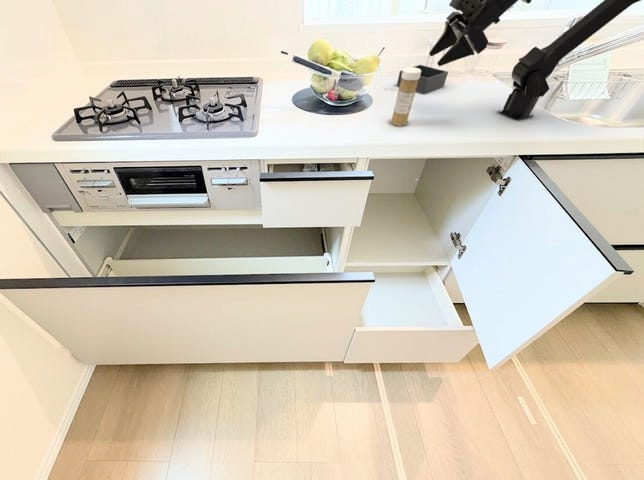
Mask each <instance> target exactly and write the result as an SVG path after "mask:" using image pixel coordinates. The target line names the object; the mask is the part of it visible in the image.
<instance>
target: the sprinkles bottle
mask: <svg viewBox="0 0 644 480" xmlns="http://www.w3.org/2000/svg"><path fill="white" fill-rule="evenodd" d="M402 70H403V72H402V76H401V77H402V78H401V83H400V87H399V86H398V90H397V96H396V99H395V103H394V107H393V113H392V115H391V116H392V117H391V119H390V123H391V125H394V126H401V127H402V126H406V125H407V124H408V119H409V115H410V113H411V109H412V106H413V103H414V98H415V94H416V87H417V83H418V80H419V78H420V75H421V70H420V69H419V68H414V66H408V67H404V68H403V69H402Z"/></svg>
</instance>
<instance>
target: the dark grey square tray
mask: <svg viewBox="0 0 644 480" xmlns="http://www.w3.org/2000/svg"><path fill="white" fill-rule="evenodd" d="M413 67H414V68H419V69H420V70H421V75H420V78H419V80H418V83H417V87H416V91H415V93H419V94H422V95H425V94H427V93H430V92H433V91H436V90H439V89H441V88H443V87H444V86H445V83H446V81H447V78H448V75H449V71H446V70H444V69H440V68H436V67H435V68H434V67H431V66H428V65H424V64H418V65H415V66H413ZM402 72H403V69H401V70H400V71H399V74H398V78H397V83H396V86H397V87H398V88H399V87H400V83H401V78H402V77H401V76H402Z"/></svg>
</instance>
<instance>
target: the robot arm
mask: <svg viewBox="0 0 644 480" xmlns="http://www.w3.org/2000/svg"><path fill="white" fill-rule="evenodd" d="M641 1H642V0H603V1H602V2H600V3H599V4H598V5H597V6H595V7H594V8H593V9H592V10H590V11H589V12H588V13H587V14H585V15H584V16H583V17H582V18H580V19H579V20H578V21H577V22H576V23H574V24H573V25H572V26H571V27H570V28H568V29H567V30H566V31H565V32H564V33H562V34H561V35H559V37H557V38H556V39H555V40H554V41H552V42H551V43H550V44H548V45H547V46H545V47H542V48H539V47H538V46H533V48H531V49H530V50H529V51H528V52H527V53H526V54H524V55H523V56H522V57H519V59H518V62H517V63H516V64H514V66H513V67H512V71H511V79H512V80H513V81H512V87H513V89H512V91H511V93H509V95H508V97H507V99H506V101H505V104H504V105H503V109H500V110H499V113H500V114H502V115H505V116H506V117H509V118H512V119H513V120H517V121H519V120H523V119H527V118H530V117H533V116H534V113H532V112H533V110H534V108H535V106H536V105H537V103H538V101H539V99H540V98H541V97H544V96H545V95H546V94H547V93H548V91H550V85H549V84H548V81H547V78H549V76H550V75H552V74H553V72H554V71H555V69H556V67H557V66H558V64H559V63H560V62H561V60H562V59H564V58H565V57H566V56H568V55H569V54H570V53H572V52H573V51H575V49H577V48H578V47H579V46H580V45H582V44H583V43H584V42H586V41H587V40H588V39H590V38H591V37H592V36H593V35H595V34H596V33H597V32H599V31H600V30H601V29H602V28H604V27H605V26H607V25H608V24H609V23H610V22H611V21H612V20H614V19H615V18H617V17H618V16H620V15H621V14H622V13H623V12H624V11H626V10H627V9H628V8H629V7H631V6H633V5H634V4H636V3H638V2H641ZM518 2H520V0H451V1H450V2H449V4H448V6H449V7H451V8H453V10H456V11H452V12H451V13H450V14H449V15H448V16H447V17H446V20H445V22H444V24H445V25H444V30H443V32H442V34H441V35H440V37H439V38H438V39H437V41H436V42H435V44H434V45H433V46H432V48H431V50H429V53H428V55H429V56H430V57H433V56H435V55H438V54H439V53H442V52H443V51H445V50H447V49H448V50H447V51H446V52H445V53H444V54H443V55H442V56H441V58H440V59H439V60H438V61H436V62H437V63H436V64H437V66H438V67H443V66H444V65H447V64H449V63H453V62H455V61H458V60H461V59H464V58H466V57H470V56H474V55H475V54H477V55H479V54H481V53H482V52H483V51H485V49H487V47H488V44H489V39H488V37H487V36H486V34H485V30H487V29H488V28H489V27H490V26H491V25H492V24H494V25H497V24H498V23H499V22H501V17H502V16H503V15H504V14H505V13H507V12H508V11H509V10H510V9H511V8H512V7H514V6H515V4H517V3H518ZM521 2H522V3H525V4H531V2H532V0H521Z"/></svg>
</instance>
